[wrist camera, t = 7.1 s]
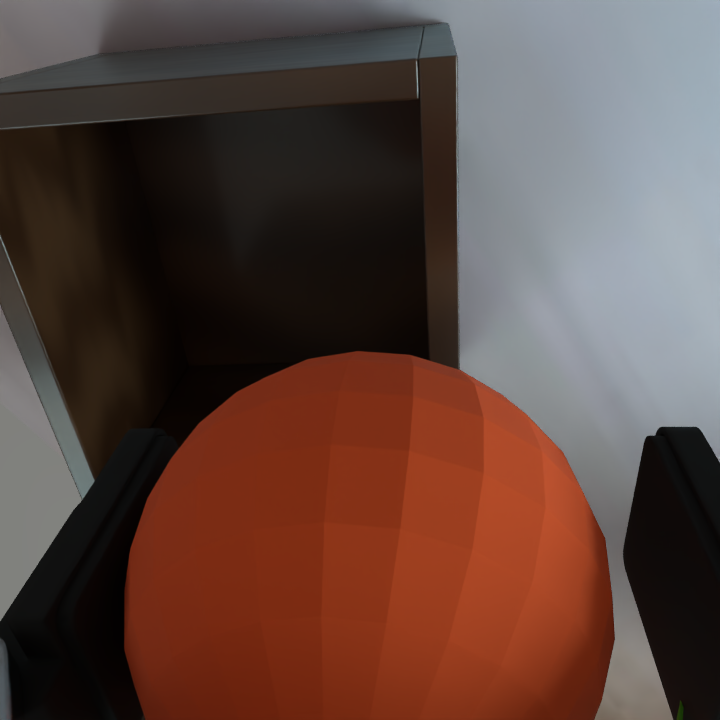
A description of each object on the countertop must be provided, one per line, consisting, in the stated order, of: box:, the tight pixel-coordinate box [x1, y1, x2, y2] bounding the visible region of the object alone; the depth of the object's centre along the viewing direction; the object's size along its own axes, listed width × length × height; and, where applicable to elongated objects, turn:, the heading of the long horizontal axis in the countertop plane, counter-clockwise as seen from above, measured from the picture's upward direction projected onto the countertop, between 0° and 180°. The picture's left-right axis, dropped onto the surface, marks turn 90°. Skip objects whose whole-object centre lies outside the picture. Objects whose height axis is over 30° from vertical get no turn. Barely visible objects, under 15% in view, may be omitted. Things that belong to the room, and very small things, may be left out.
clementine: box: [124, 351, 684, 720], centre depth 10 cm, size 8×7×7 cm
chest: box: [0, 23, 460, 500], centre depth 24 cm, size 15×14×10 cm
